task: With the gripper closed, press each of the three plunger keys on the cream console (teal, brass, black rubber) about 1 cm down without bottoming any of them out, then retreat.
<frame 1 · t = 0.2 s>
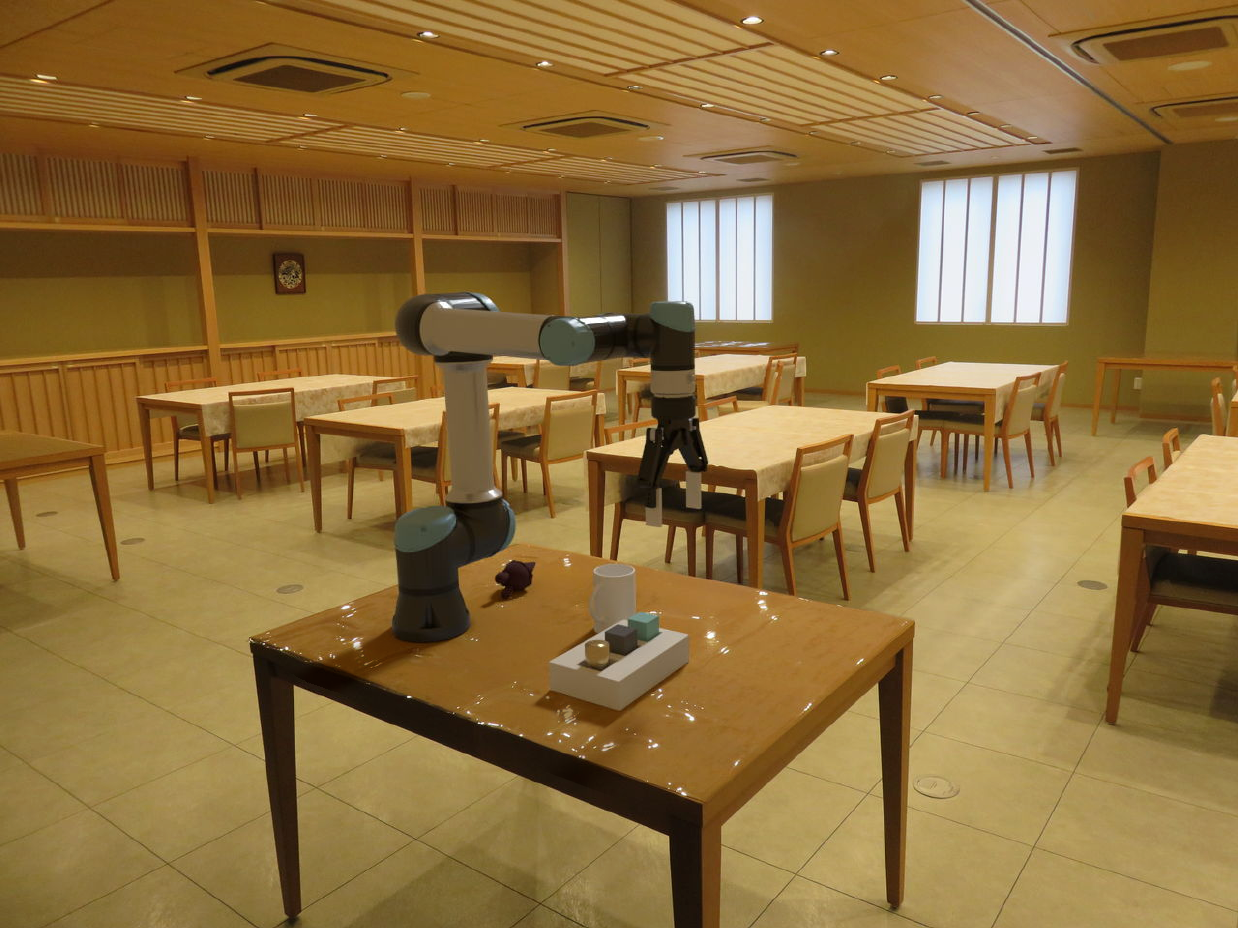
hand: (674, 516, 156), 26 cm above the table, fingers open, 13 cm apart
rubber key: (621, 642, 154), point 6 cm above the table, slide at 0.0 cm
brass key: (597, 657, 149), point 6 cm above the table, slide at 0.0 cm
dark purple knobbly piece: (517, 590, 199), on the table
console: (621, 674, 155), on the table
mug: (609, 632, 175), on the table
teal key: (643, 629, 160), point 6 cm above the table, slide at 0.0 cm
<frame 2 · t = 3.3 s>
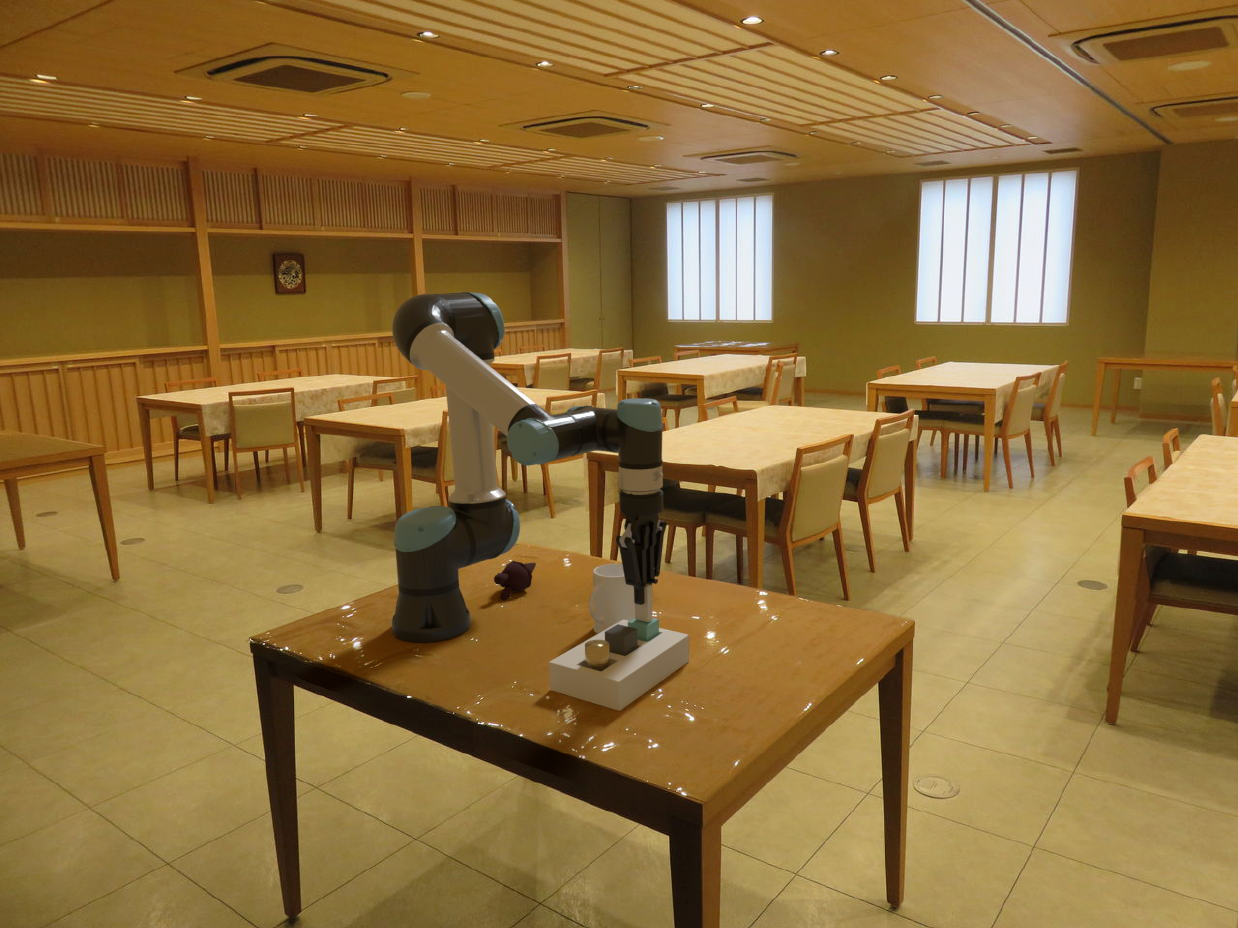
hand: (643, 619, 159), 8 cm above the table, fingers closed
teal key: (643, 632, 160), point 5 cm above the table, slide at 0.6 cm, touching gripper
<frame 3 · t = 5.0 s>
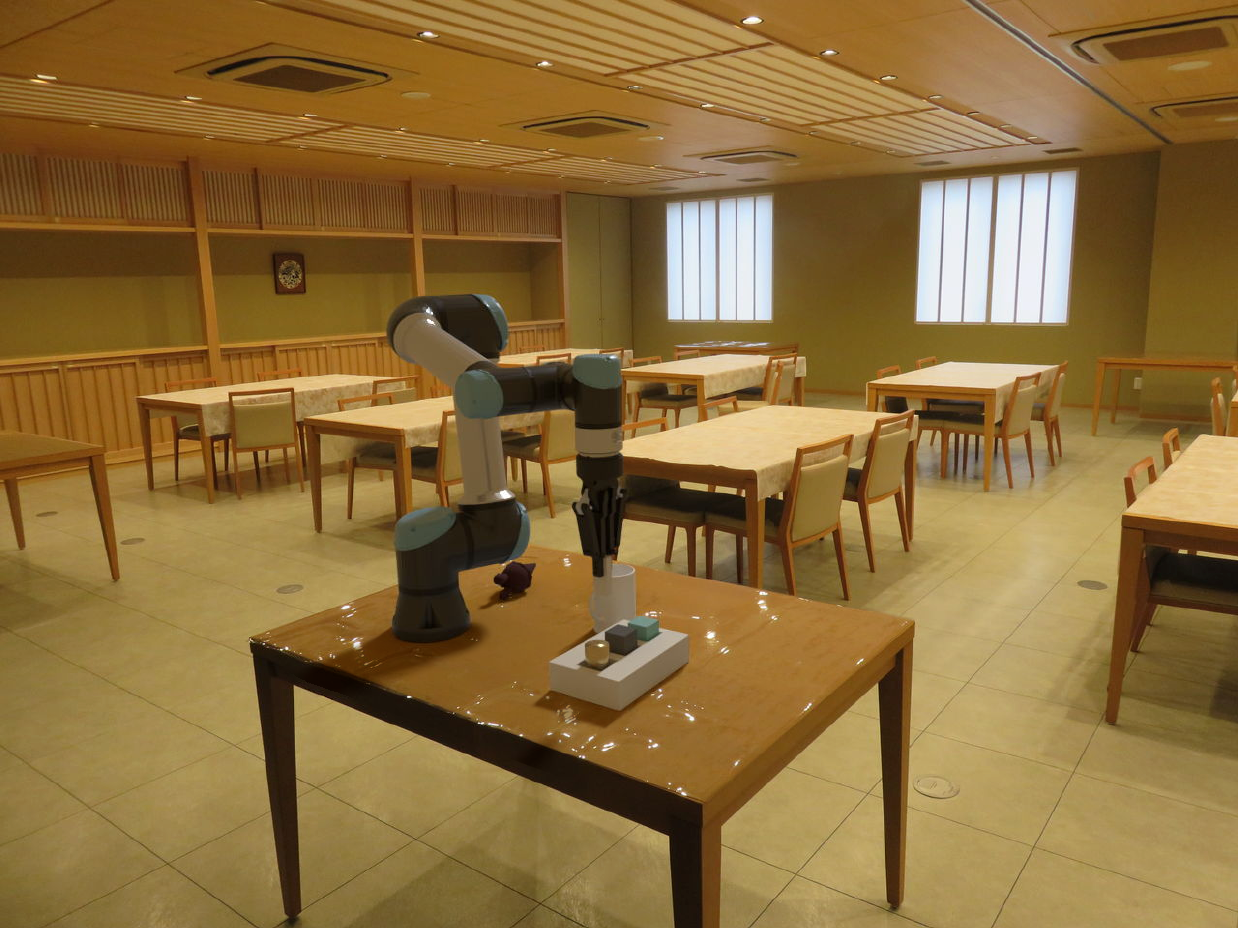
hand: (603, 593, 148), 16 cm above the table, fingers closed
teal key: (643, 633, 160), point 5 cm above the table, slide at 0.8 cm
everything else where it was.
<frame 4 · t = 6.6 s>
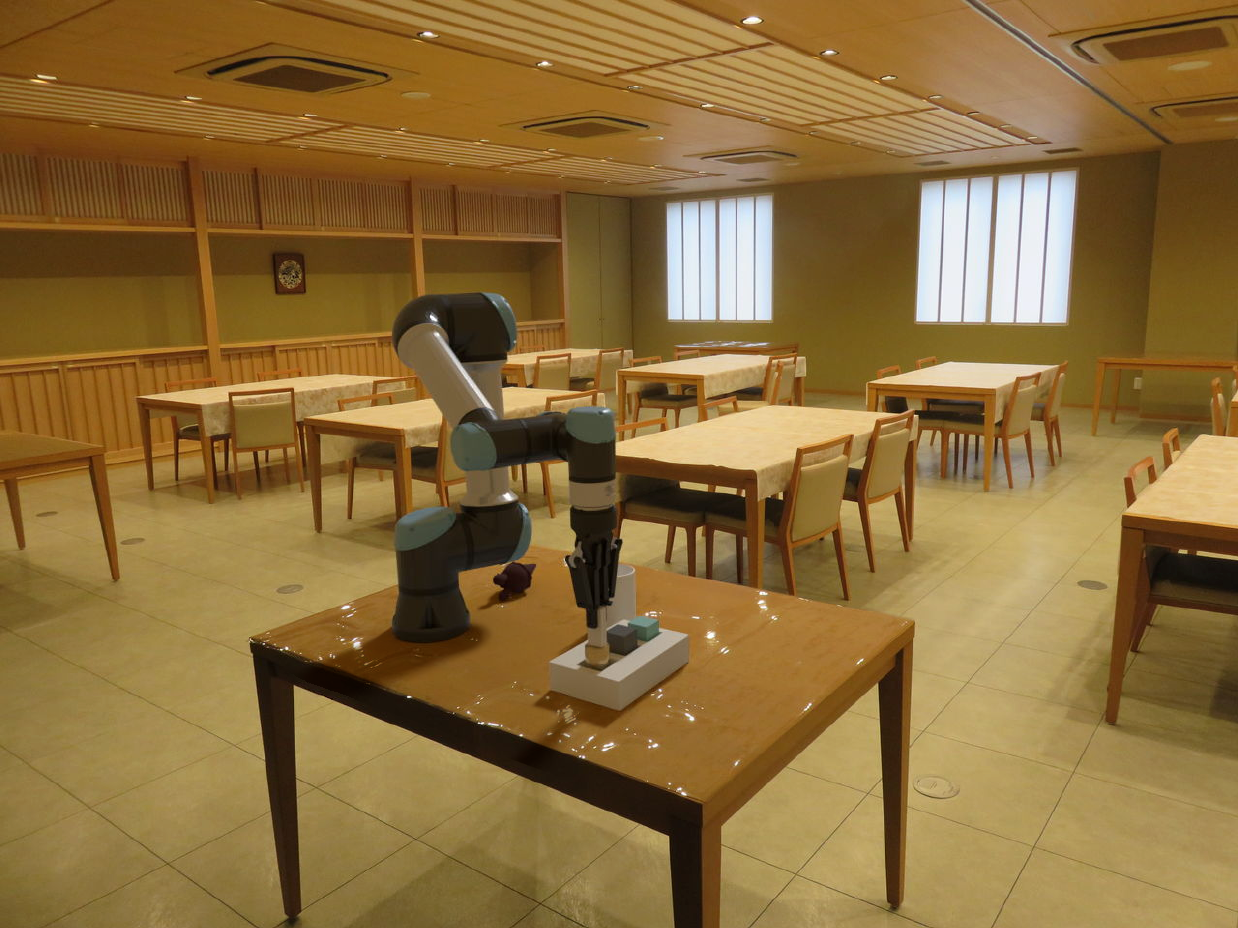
hand: (597, 644, 148), 8 cm above the table, fingers closed
brass key: (597, 658, 149), point 6 cm above the table, slide at 0.2 cm, touching gripper
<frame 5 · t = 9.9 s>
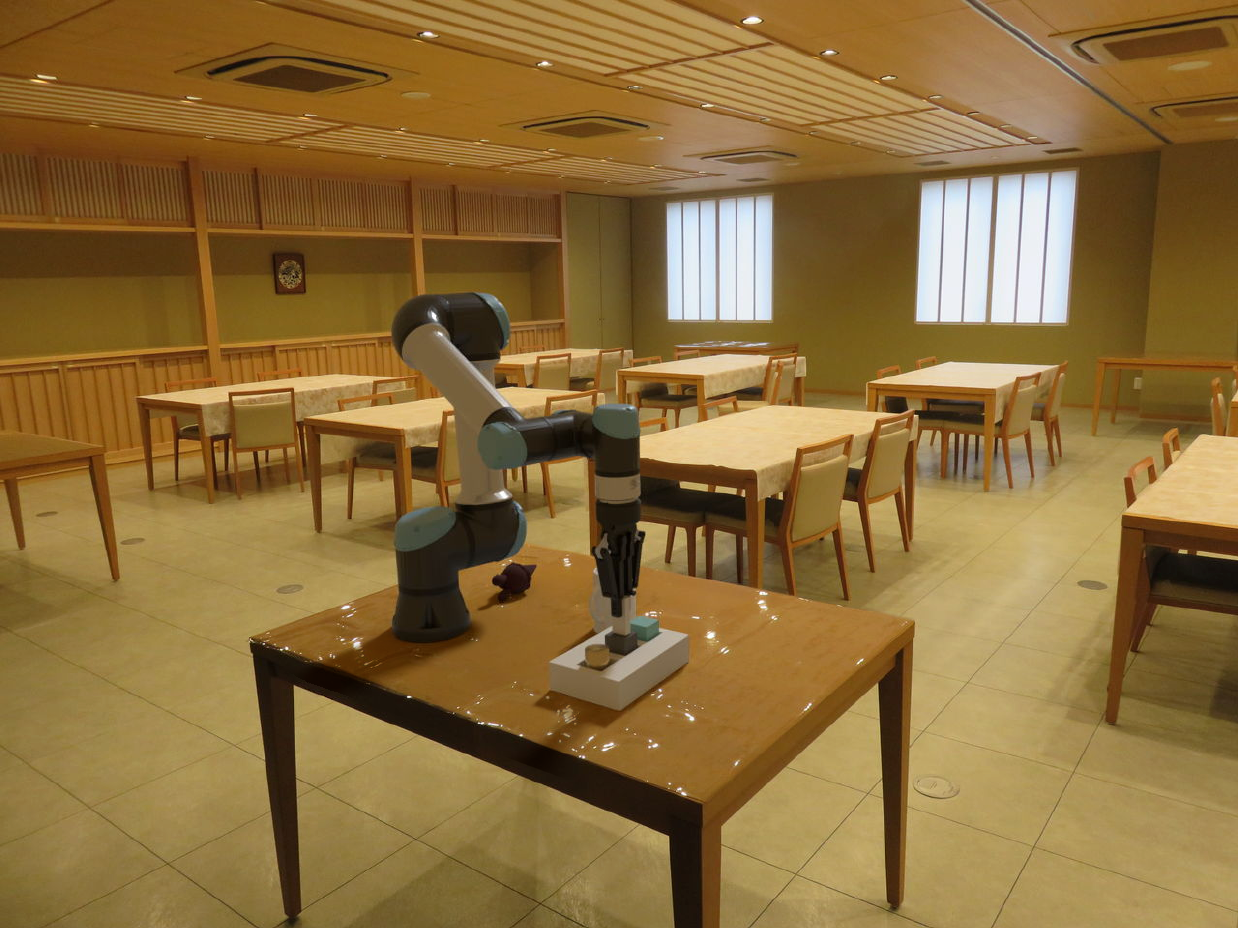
hand: (621, 632, 154), 8 cm above the table, fingers closed
rubber key: (621, 645, 154), point 5 cm above the table, slide at 0.6 cm, touching gripper
brass key: (597, 661, 149), point 5 cm above the table, slide at 0.8 cm
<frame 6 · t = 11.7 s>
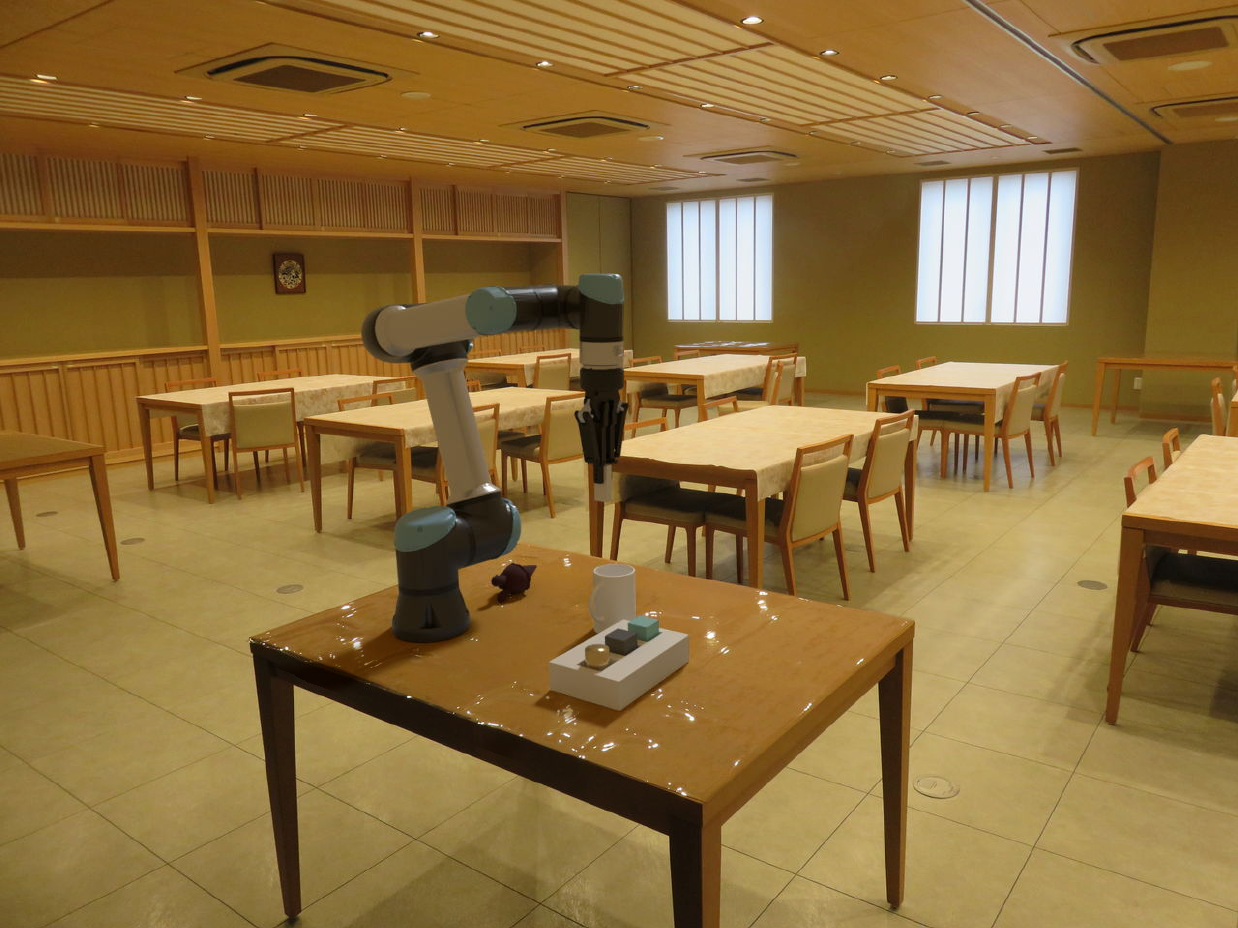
hand: (603, 500, 159), 29 cm above the table, fingers closed
rubber key: (621, 646, 154), point 5 cm above the table, slide at 0.8 cm
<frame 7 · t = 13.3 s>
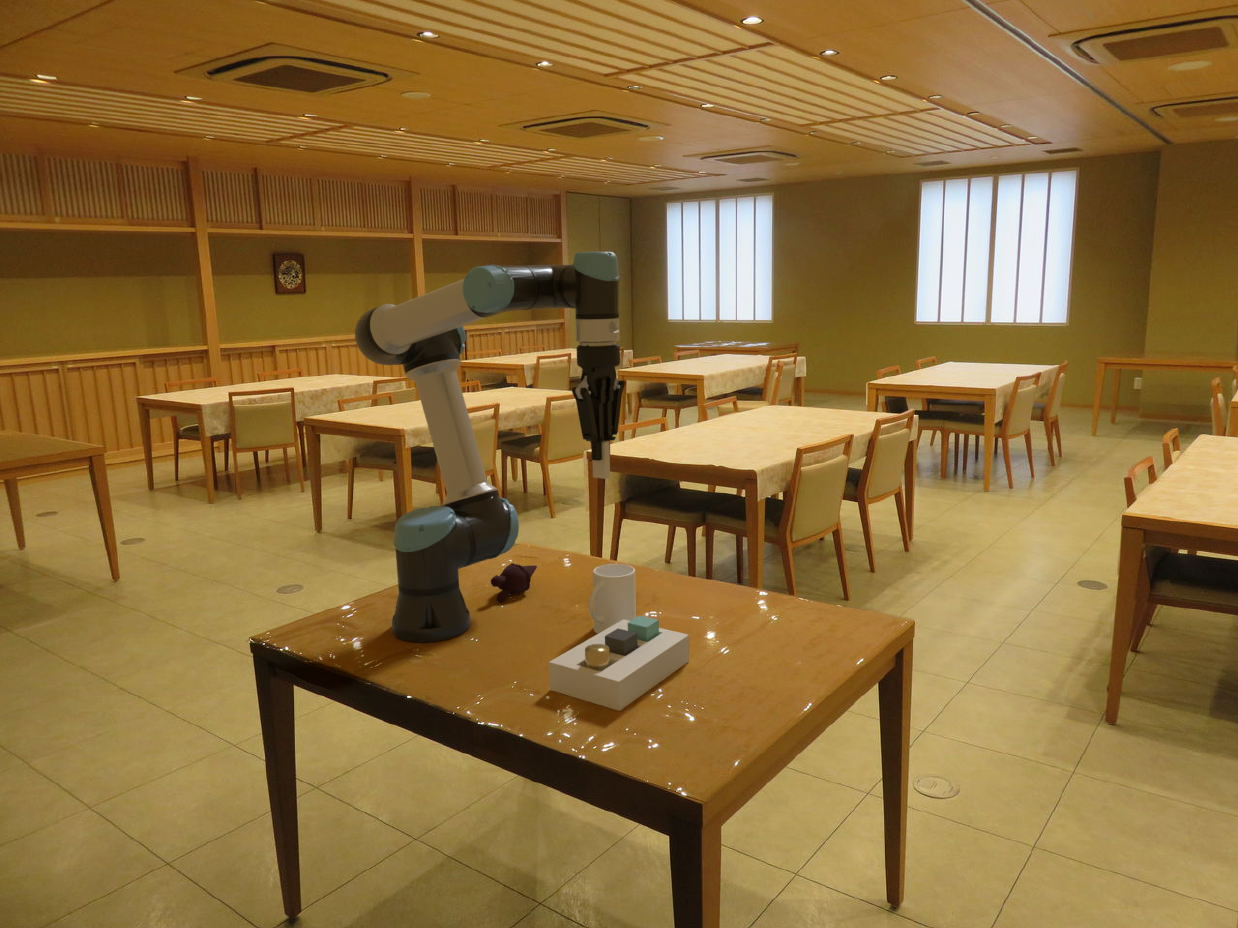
hand: (601, 477, 160), 32 cm above the table, fingers closed
at the end: teal key slide at 0.8 cm; brass key slide at 0.8 cm; rubber key slide at 0.8 cm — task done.
